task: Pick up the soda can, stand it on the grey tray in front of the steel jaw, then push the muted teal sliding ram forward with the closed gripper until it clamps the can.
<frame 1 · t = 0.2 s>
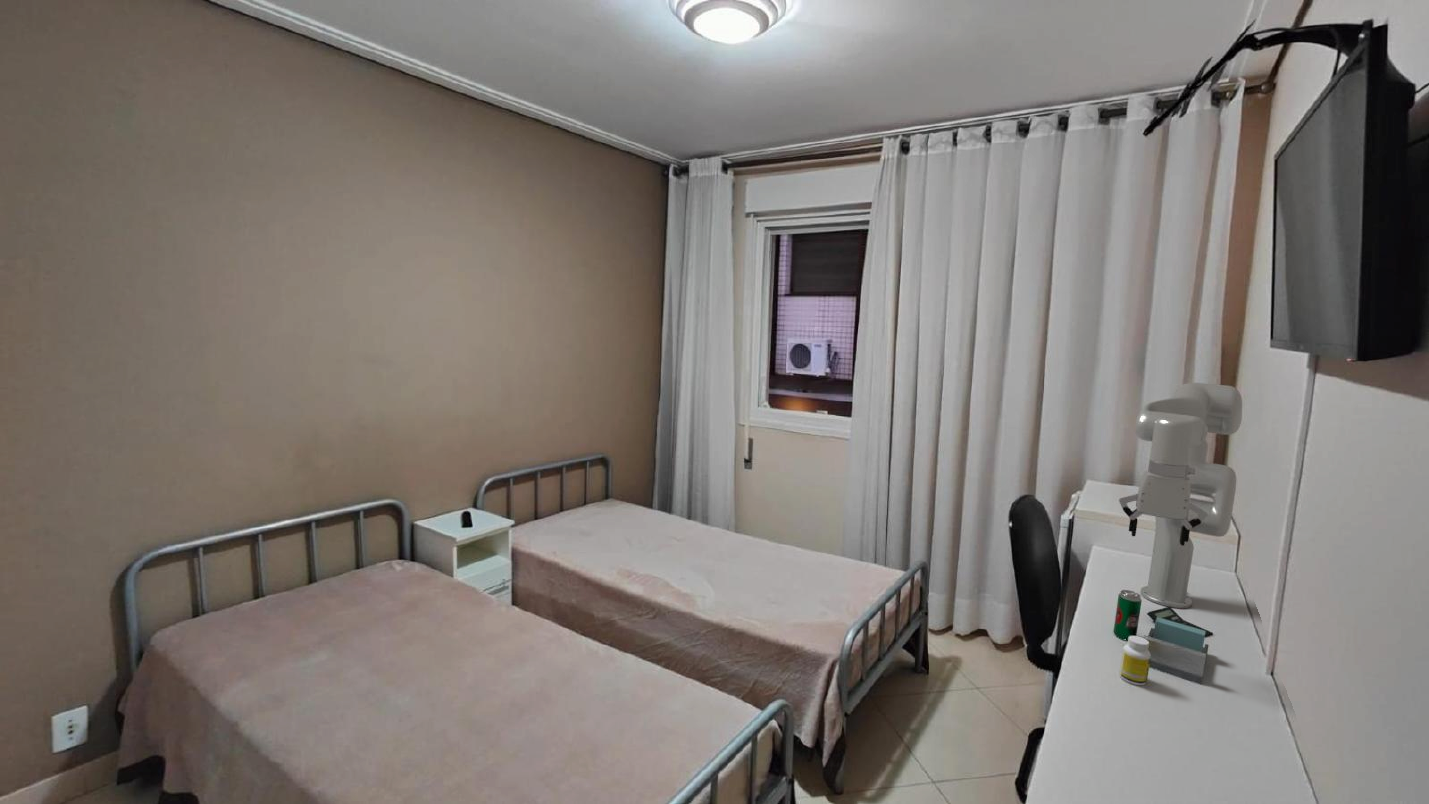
hand: (1157, 539, 153), 30 cm above the table, tool pointing down, fingers open, 9 cm apart
grey tray: (1173, 658, 157), on the table
soda can: (1124, 637, 167), on the table
supplement bottle: (1132, 680, 147), on the table
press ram: (1178, 635, 160), point 4 cm above the table, slide at 0.0 cm
calculator: (1178, 629, 173), on the table
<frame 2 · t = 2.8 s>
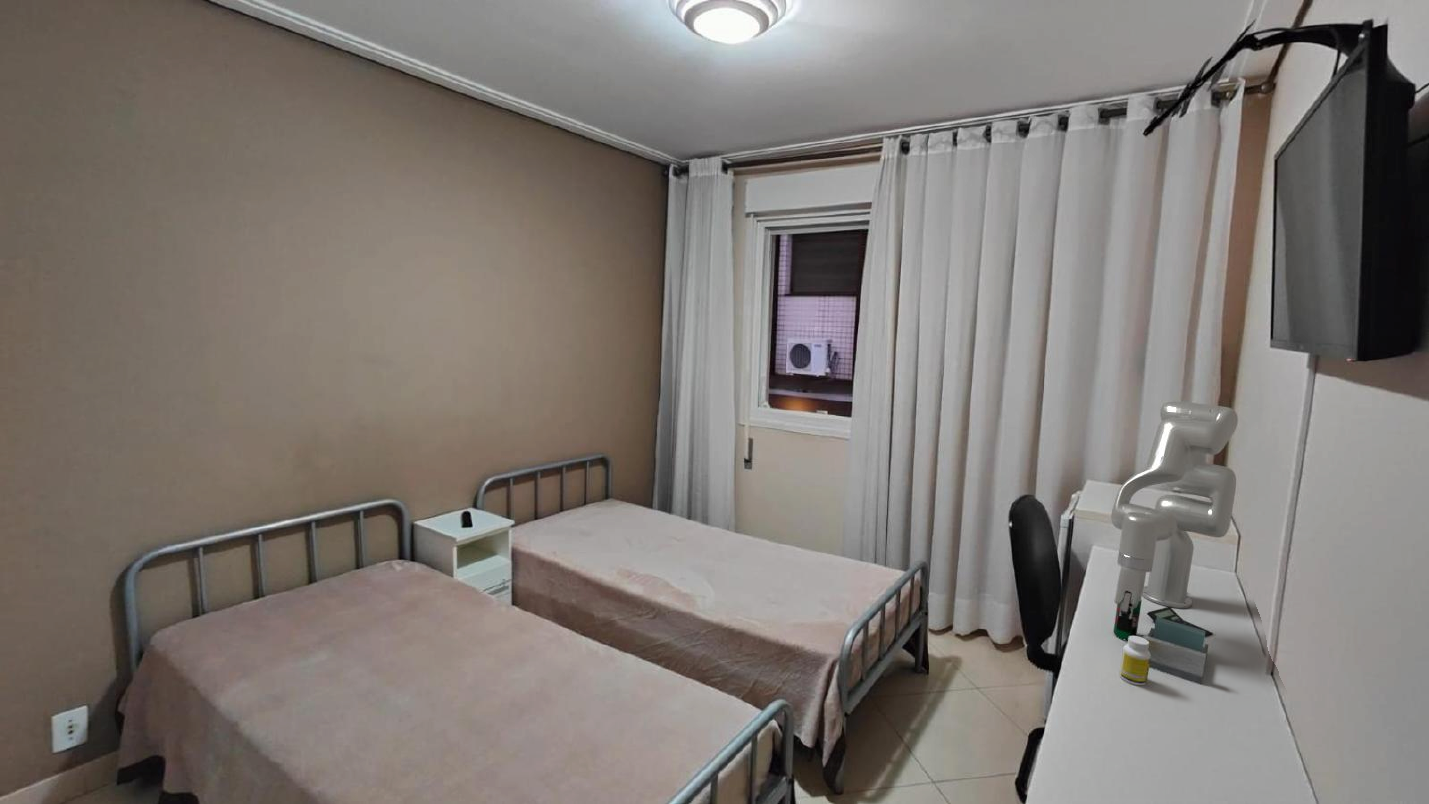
hand: (1125, 626, 166), 3 cm above the table, tool pointing down, fingers closed on soda can, 5 cm apart
soda can: (1124, 637, 167), on the table, touching gripper
everything else where it was.
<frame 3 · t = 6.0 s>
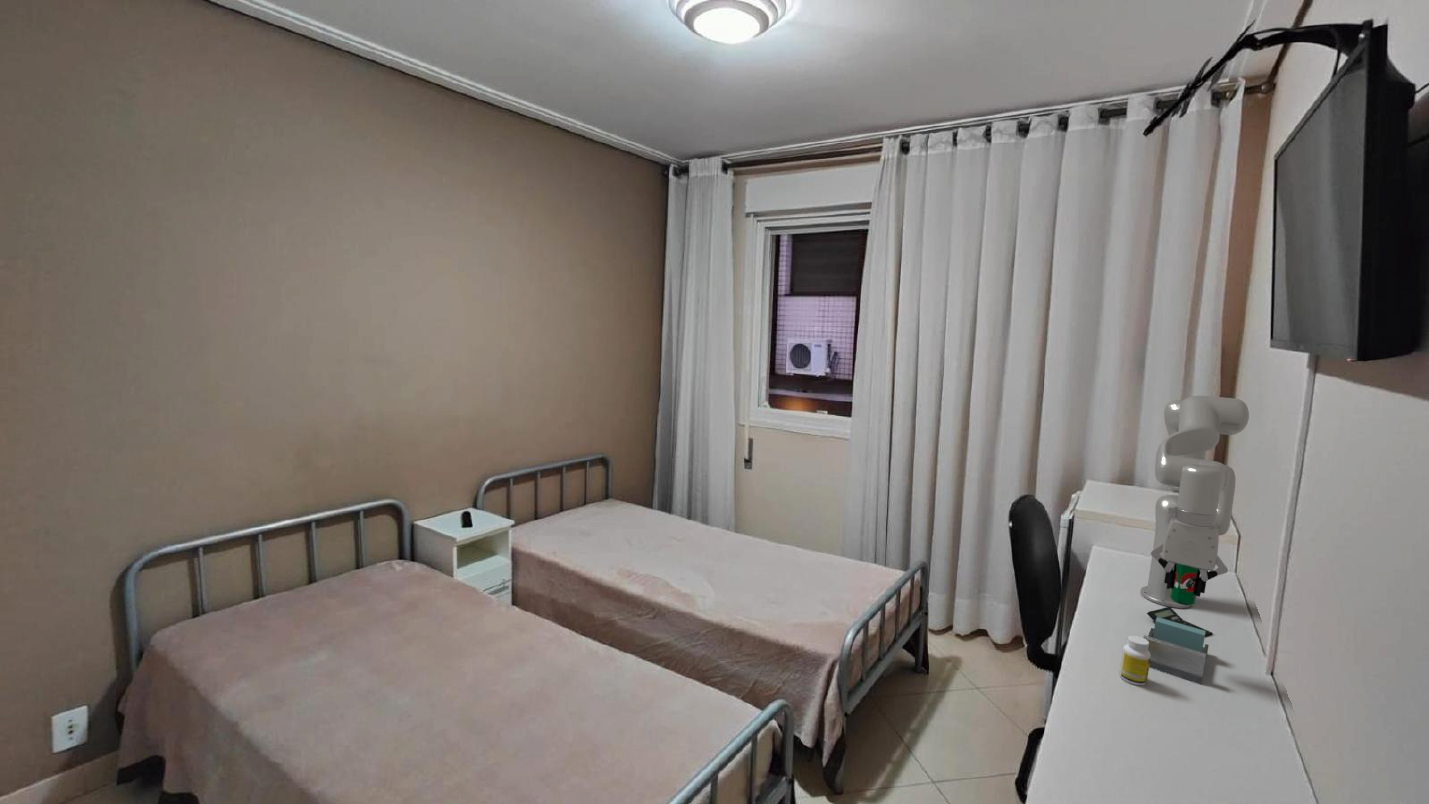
hand: (1183, 590, 152), 19 cm above the table, tool pointing down, fingers closed on soda can, 5 cm apart
soda can: (1181, 602, 152), point 16 cm above the table, touching gripper
everything else where it was.
when the fingers open (5 cm above the table, at t = 8.8 s): soda can stays where it is, resting on grey tray.
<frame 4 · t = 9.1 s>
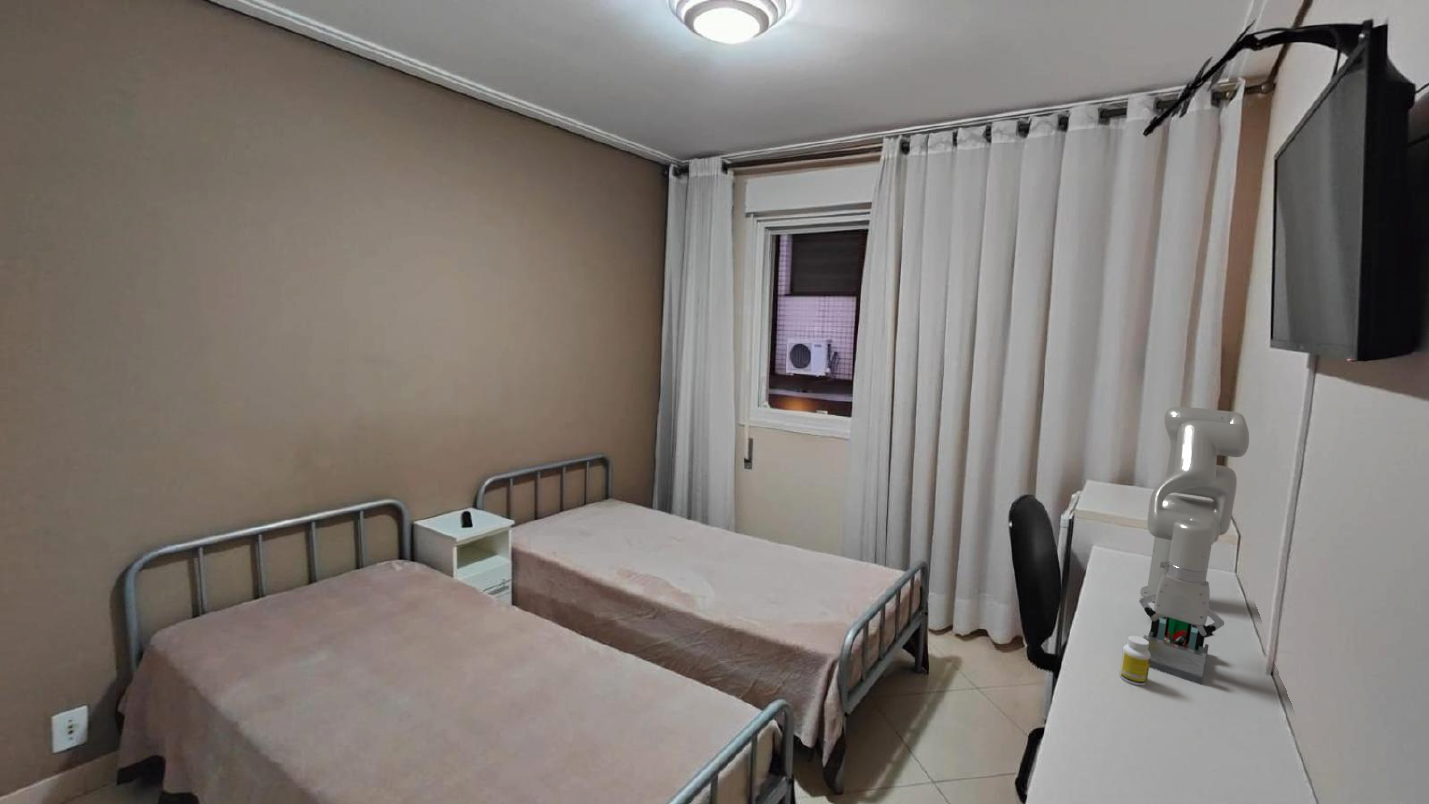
hand: (1175, 641, 154), 6 cm above the table, tool pointing down, fingers open, 7 cm apart
soda can: (1173, 658, 154), point 1 cm above the table, touching grey tray
everything else where it was.
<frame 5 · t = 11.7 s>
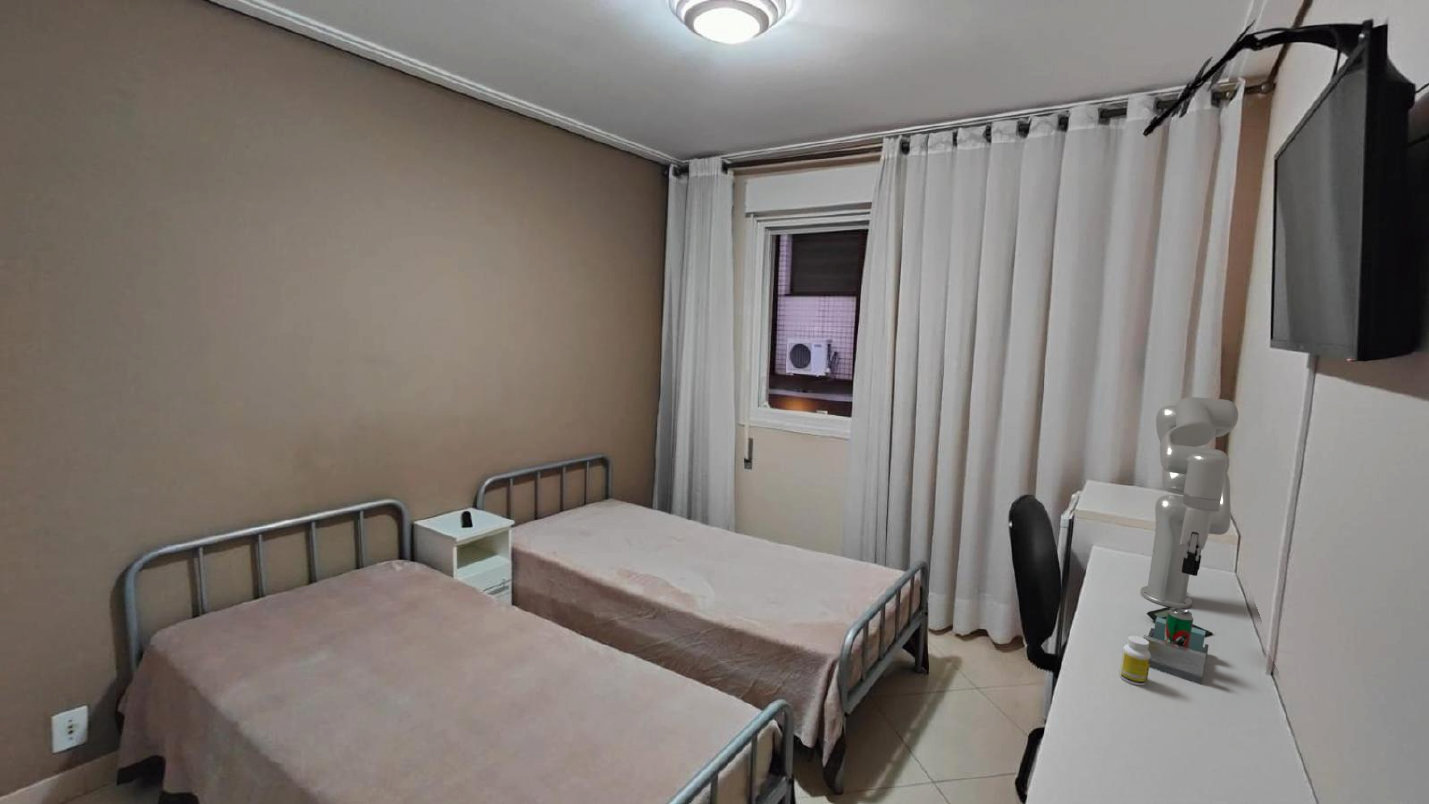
hand: (1190, 570, 163), 19 cm above the table, tool pointing down, fingers open, 4 cm apart
nothing on the table moved.
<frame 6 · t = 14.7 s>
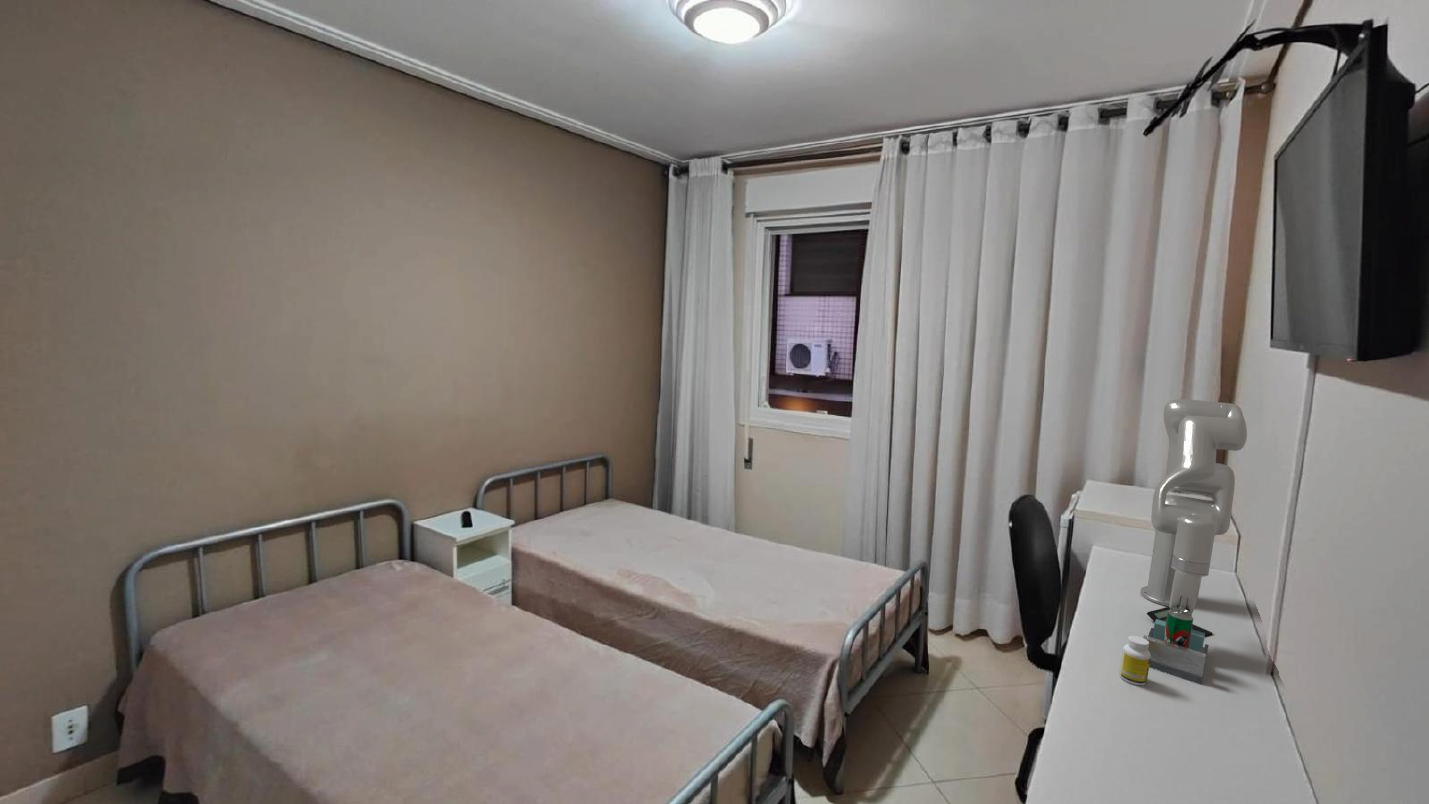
hand: (1179, 633, 162), 4 cm above the table, tool pointing down, fingers closed
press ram: (1178, 637, 159), point 4 cm above the table, slide at 1.5 cm, touching gripper
everything else where it was.
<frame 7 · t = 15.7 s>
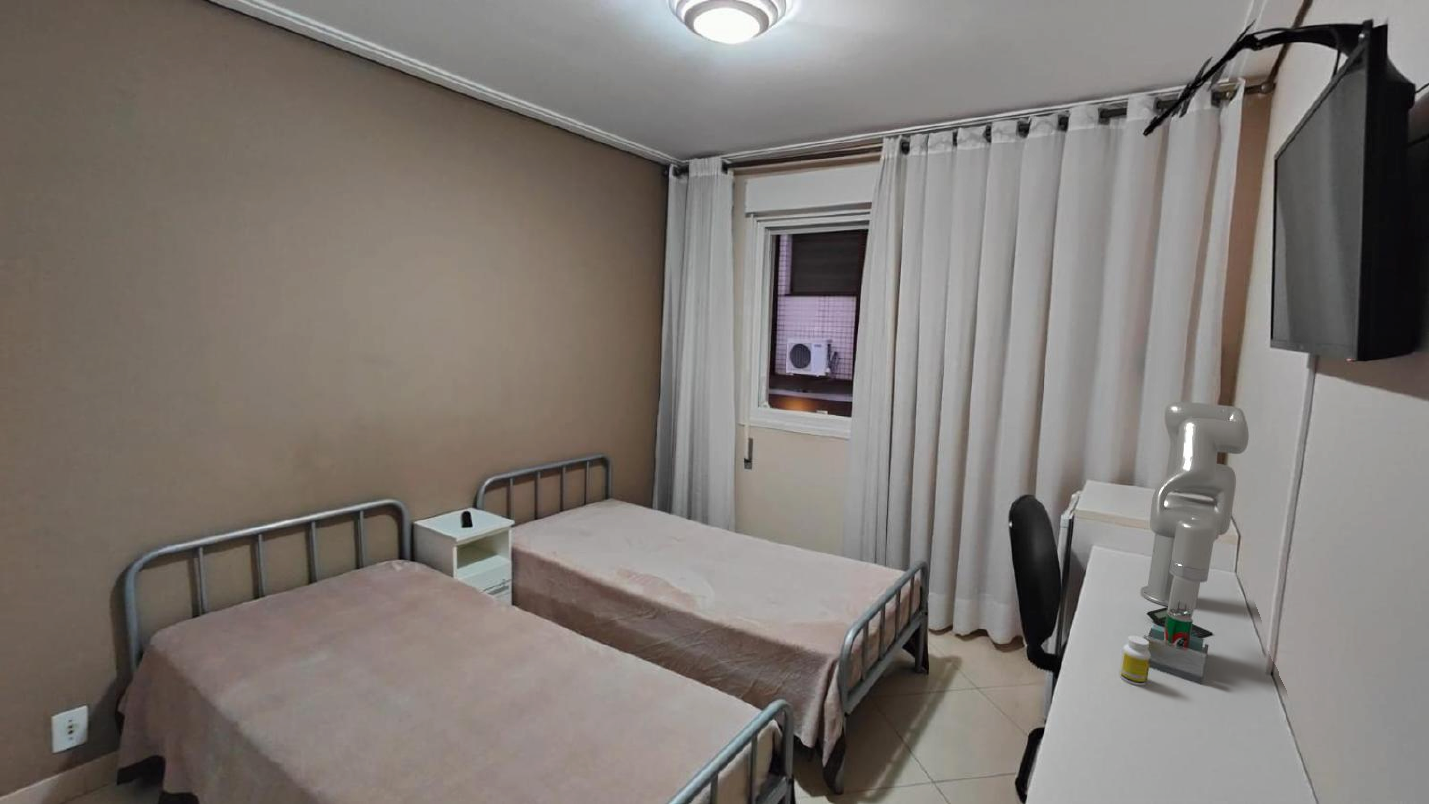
hand: (1177, 639, 159), 4 cm above the table, tool pointing down, fingers closed
soda can: (1172, 660, 154), point 1 cm above the table, touching grey tray, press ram
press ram: (1176, 643, 156), point 4 cm above the table, slide at 5.5 cm, touching gripper, soda can
everything else where it was.
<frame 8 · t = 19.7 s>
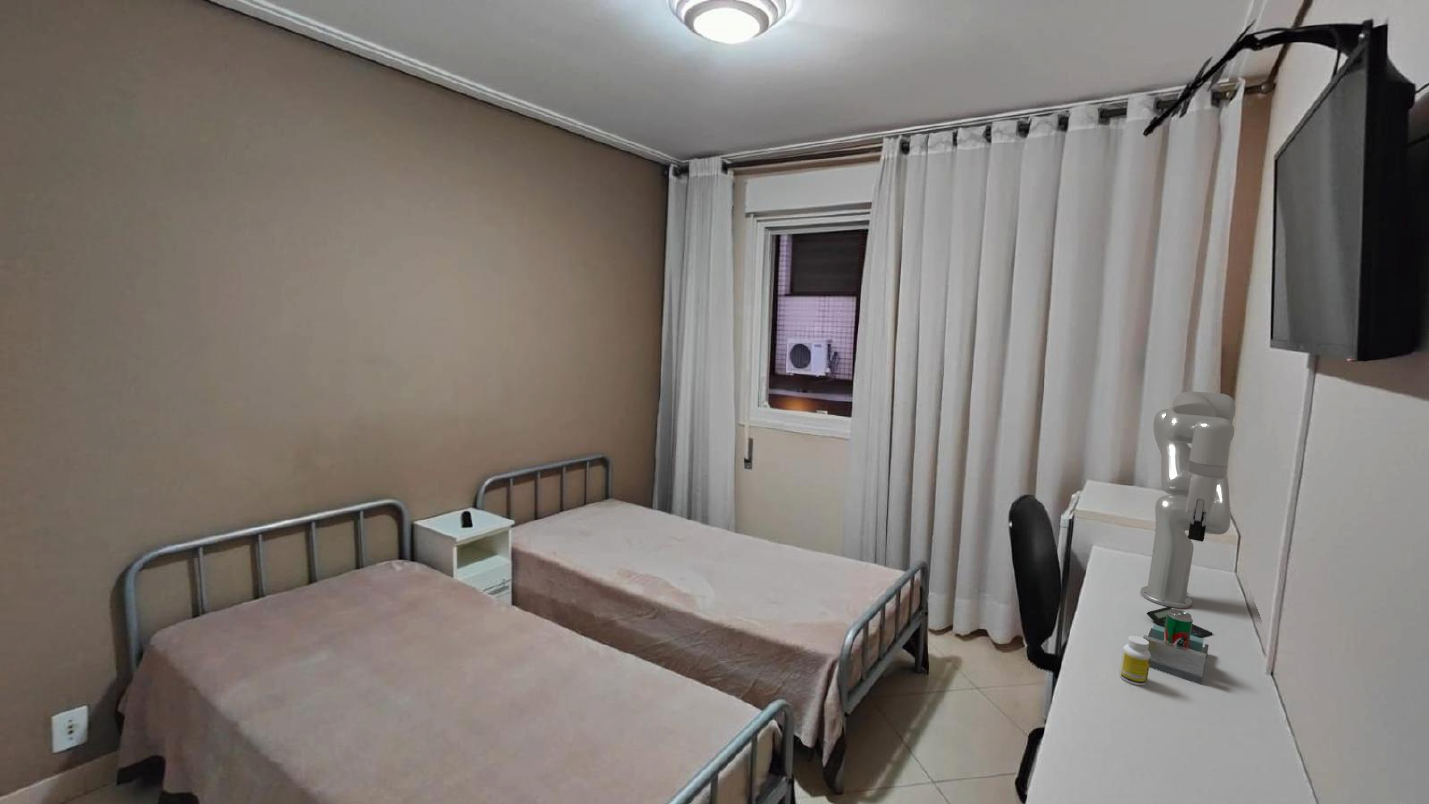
hand: (1195, 539, 163), 27 cm above the table, tool pointing down, fingers closed
soda can: (1172, 660, 154), point 1 cm above the table, touching grey tray
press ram: (1176, 643, 156), point 4 cm above the table, slide at 5.4 cm
everything else where it was.
at the end: soda can inside the target area (0.8 cm from its centre), point 1.3 cm above the table; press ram slide at 5.4 cm; soda can tilted 0° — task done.
